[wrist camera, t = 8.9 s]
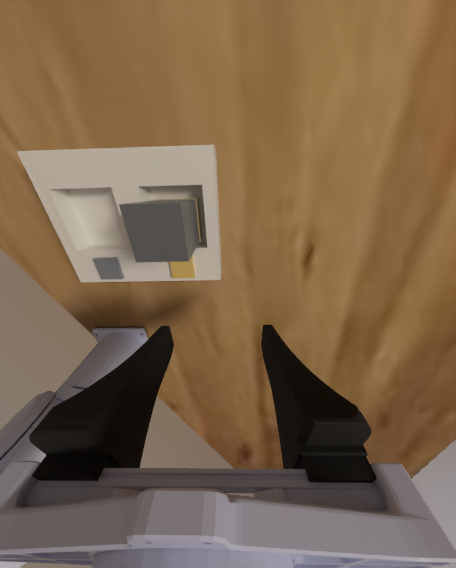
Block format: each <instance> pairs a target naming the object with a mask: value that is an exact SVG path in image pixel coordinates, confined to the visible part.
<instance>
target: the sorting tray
mask: <svg viewBox="0 0 456 568" xmlns="http://www.w3.org/2000/svg"><path fill="white" fill-rule="evenodd" d="M17 153H18V155H19V157H20V159H21V161H22V163H23V165H24V167H25V169H26V171H27V173H28V175H29V177H30V179H31V181H32V183H33V185H34V188H35V190H36V192H37V194H38V196H39V198H40V200H41V202H42V204H43V206H44V208H45V210H46V212H47V214H48V216H49V218H50V220H51V222H52V224H53V226H54V228H55V230H56V232H57V234H58V236H59V238H60V240H61V242H62V245H63V247H64V249H65V251H66V253H67V255H68V257H69V259H70V261H71V263H72V265H73V267H74V269H75V271H76V273H77V275H78V277H79V279H80V281H81V282H126V281H186V280H221V272H222V267H221V245H220V223H219V201H218V179H217V157H216V149H215V146H214V145H193V146H163V147H132V148H102V149H71V150H41V151H17ZM188 198H198V203H199V214H200V224H201V234H202V241H201V242H200V243H199V244H198V246H197V248H196V250H195V251H194V253H193V255H192V256H191V258H190V260H189V261H183V262H136V260H135V257H134V254H133V250H132V247H131V244H130V240H129V237H128V233H127V230H126V227H125V223H124V220H123V217H122V213H121V210H120V207H119V204H126V203H135V202H143V201H151V200H154V199H188Z"/></svg>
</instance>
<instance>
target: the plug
mask: <svg viewBox="0 0 456 568" xmlns="http://www.w3.org/2000/svg"><path fill="white" fill-rule="evenodd" d="M119 207H120V210H121V213H122V217H123V220H124V223H125V227H126V230H127V233H128V237H129V240H130V244H131V247H132V250H133V254H134V257H135V260H136V262H183V261H189V260H190V258H191V256H192V255H193V253H194V251H195V250H196V248H197V246H198V244H199V243H200V242H201V241H202V234H201V224H200V214H199V203H198V198H188V199H154V200H151V201H143V202H135V203H126V204H119Z"/></svg>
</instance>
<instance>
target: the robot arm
mask: <svg viewBox="0 0 456 568" xmlns="http://www.w3.org/2000/svg"><path fill="white" fill-rule="evenodd" d="M92 333H93V335H94V336H95V338H96V340H97V342H98V344H97V345H96V346H95V348H94V349H93V350H92V351H91V352H90V353H89V354H88V356H87V357H86V358H85V359H84V360H83V361H82V363H81V364H80V365H79V366H78V367H77V368H76V370H75V371H74V372H73V373H72V374H71V375H70V376H69V378H68V379H67V380H66V381H65V382H64V383H63V385H62V386H61V387H60V388H59V389H58V390H57V391H56V392H55V393H53V392H52V391H47V392H45V393H42V394H39V395H37V396H36V397H34V398H33V399H32V400H31V401H30V402H29V403H28V404H26V405H25V406H24V407H23V408H22V409H21V410H20V411H19V412H18V413H17V414H16V415H15V416H14V417H13V418H12V419H11V420H10V421H9V422H8V423H7V424H6V425H5V426H4V427H3V428H2V429H1V430H0V568H20V567H21V566H23V565H24V564H25V563H27V562H31V563H54V564H77V565H78V564H79V565H92V566H91V568H431V567H438V566H444V565H450V564H456V550H455V548H454V546H453V545H452V543H451V542H450V540H449V538H448V537H447V535H446V534H445V532H444V530H443V529H442V527H441V526H440V524H439V522H438V521H437V519H436V518H435V516H434V515H433V513H432V511H431V510H430V508H429V507H428V505H427V503H426V502H425V500H424V499H423V497H422V495H421V494H420V492H419V491H418V489H417V487H416V486H415V484H414V483H413V481H412V480H411V478H410V476H409V475H408V473H407V472H406V470H405V468H404V467H403V465H402V464H400V463H384V462H378V463H372V464H369V462H368V460H367V458H366V456H367V452H366V450H365V448H364V446H363V444H364V443H365V441H366V440H367V439H368V438H369V436H370V434H371V428H370V426H369V425H368V423H367V421H366V419H365V418H364V416H363V415H362V413H361V412H360V411H359V409H358V408H357V406H355V405H354V404H352V403H351V402H349V401H348V400H347V399H345V398H344V397H342V396H341V395H339V394H338V393H337V392H335V391H334V390H333V389H331V388H330V387H329V386H327V385H326V384H325V383H324V382H323V381H321V380H320V379H319V378H318V377H317V376H315V375H314V374H313V373H312V372H311V371H310V370H309V369H308V368H307V367H306V366H305V365H304V364H303V363H302V362H301V361H300V360H299V359H298V358H297V357H296V356H295V355H294V354H293V352H292V351H291V350H290V349H289V348H288V346H287V345H286V344H285V343H284V341H283V340H282V339H281V337H280V336H279V335H278V333H277V332H276V330H275V329H274V327H273V326H272V325H263V332H262V342H261V345H262V352H263V358H264V362H265V366H266V370H267V374H268V377H269V381H270V385H271V389H272V394H273V400H274V405H275V412H276V418H277V424H278V431H279V438H280V445H281V452H282V459H283V467H284V469H199V468H197V469H195V468H193V469H189V468H140V462H141V458H142V453H143V448H144V444H145V440H146V436H147V431H148V427H149V423H150V419H151V415H152V411H153V407H154V404H155V400H156V397H157V393H158V391H159V388H160V385H161V382H162V380H163V377H164V374H165V372H166V369H167V367H168V364H169V361H170V359H171V355H172V351H173V347H174V343H173V339H172V335H171V331H170V327H169V326H161V327H160V328H159V329H158V330H157V331H156V332H155V333H154V334H153V335H152V336H151V337H150V338H149V339H148V336H147V334H146V331H145V329H144V328H94V329H93V330H92ZM225 493H255V494H254V497H249V496H240V495H231V494H225Z"/></svg>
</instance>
